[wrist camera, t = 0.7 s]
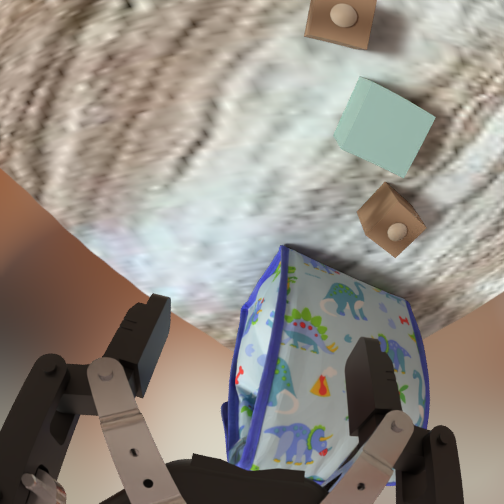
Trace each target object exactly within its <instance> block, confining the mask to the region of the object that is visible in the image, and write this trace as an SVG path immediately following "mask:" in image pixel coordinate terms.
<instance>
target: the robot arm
mask: <svg viewBox="0 0 504 504" xmlns="http://www.w3.org/2000/svg"><path fill="white" fill-rule="evenodd" d="M170 314H171V299H170V297H166V296H162V295H158V294H154V293H153V294H152V295H151V296H150V298H149V300H148V302H147V304H143V303H137V304H135V305H134V306H133V307H132V308H130V309H129V310H128V312H127V314H126V316H125V317H124V320H123V321H122V323H121V324H120V327H119V328H118V330H117V332H116V333H115V335H114V337H113V339H112V341H111V342H110V344H109V346H108V348H107V350H106V352H105V354H104V355H103V356H102V358H98V359H96V360H94V361H93V362H92V363H91V364H87V365H78V364H66V363H65V360H64V359H63V358H62V357H61V356H59V355H57V354H45V355H43V356H41V357H40V358H38V360H37V361H36V362H35V364H34V366H33V367H32V369H31V371H30V373H29V375H28V377H27V378H26V380H25V382H24V384H23V386H22V388H21V390H20V392H19V394H18V396H17V398H16V400H15V402H14V404H13V406H12V408H11V410H10V412H9V414H8V416H7V418H6V420H5V422H4V425H3V427H2V429H1V431H0V504H66V493H65V490H64V488H63V487H62V485H61V484H60V483H58V482H57V478H58V475H59V472H60V469H61V466H62V463H63V461H64V458H65V455H66V452H67V449H68V446H69V444H70V441H71V438H72V435H73V433H74V430H75V427H76V425H77V422H78V419H79V417H80V415H96V416H99V419H100V422H101V428H102V431H103V434H104V437H105V440H106V443H107V445H108V448H109V451H110V453H111V456H112V459H113V461H114V464H115V466H116V469H117V471H118V474H119V477H120V479H121V481H122V484H123V486H124V488H125V489H123V490H121V491H120V492H118V493H116V494H115V495H113V496H111V497H109V498H108V499H106V500H104V501H102V502H101V503H99V504H373V503H374V502H375V500H376V499H377V497H378V496H379V495H380V493H381V492H382V490H383V489H384V487H385V486H386V484H387V483H388V481H389V480H390V478H391V476H392V475H393V472H394V470H392V468H393V469H395V476H396V504H464V498H463V488H462V479H461V472H460V464H459V457H458V451H457V445H456V439H455V436H454V434H453V432H452V431H451V430H450V429H449V428H448V427H446V426H442V425H439V426H436V427H434V428H433V429H432V430H431V431H430V430H427V429H424V428H421V427H418V426H416V425H414V424H413V421H412V419H411V418H410V417H409V415H407V414H406V413H405V412H403V410H402V405H401V400H400V395H399V390H398V385H397V382H396V376H395V374H394V372H395V371H394V366H393V362H392V360H391V359H390V357H389V356H388V354H387V353H386V352H381V347H380V342H379V340H378V339H374V338H368V337H360V338H359V340H358V341H357V343H356V345H355V347H354V348H353V350H352V352H351V353H350V355H349V357H348V359H347V361H346V364H345V382H346V393H347V406H348V419H349V435H350V436H357V437H359V442H358V443H357V444H356V445H355V447H354V448H353V449H352V451H351V452H350V453H349V454H348V456H347V457H346V458H345V459H344V461H343V462H342V463H341V464H340V465H339V467H338V468H337V469H336V470H335V471H334V473H333V474H332V475H331V476H330V477H329V478H328V479H327V480H326V481H325V482H324V483H323V484H322V485H319V484H318V483H316V482H315V481H313V480H311V479H308V478H306V477H305V471H303V470H291V469H282V468H275V469H265V470H254V471H249V470H245V469H243V468H240V467H238V466H236V465H233V464H231V463H228V462H226V461H224V460H221V459H217V458H212V457H207V456H203V455H198V454H194V453H193V456H192V459H183V460H176V461H172V462H169V463H166V464H165V463H164V461H163V459H162V457H161V455H160V453H159V451H158V449H157V446H156V444H155V442H154V440H153V438H152V436H151V433H150V431H149V429H148V427H147V424H146V422H145V419H144V417H143V415H142V413H140V411H139V409H138V406H137V404H136V401H135V397H136V396H137V397H140V398H143V397H144V395H145V392H146V390H147V387H148V384H149V382H150V379H151V377H152V374H153V372H154V369H155V366H156V364H157V362H158V359H159V357H160V354H161V352H162V349H163V346H164V344H165V342H166V339H167V337H168V334H169V329H170Z"/></svg>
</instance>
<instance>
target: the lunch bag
mask: <svg viewBox="0 0 504 504" xmlns="http://www.w3.org/2000/svg"><path fill="white" fill-rule="evenodd" d="M360 337H368V338H374V339H378V340H379V342H380V347H381V352H386V353H387V354H388V356H389V357H390V359H391V360H392V362H393V366H394V371H395V372H394V374H395V376H396V382H397V385H398V390H399V395H400V400H401V405H402V410H403V412H405V413H406V414H407V415H409V417H410V418H411V419H412V421H413V424H414V425H416V426H418V427H421V428H424V429H427V424H428V417H429V404H430V395H429V394H430V393H429V376H428V369H427V363H426V356H425V350H424V345H423V341H422V337H421V334H420V330H419V328H418V325H417V322H416V320H415V317H414V315H413V312H412V309H411V306H410V303H409V302H408V301H406V300H404V299H403V298H400V297H398V296H395V295H393V294H390V293H387V292H385V291H383V290H381V289H378V288H376V287H373V286H371V285H368V284H366V283H364V282H361V281H359V280H356V279H354V278H352V277H350V276H348V275H346V274H344V273H341V272H339V271H337V270H335V269H333V268H331V267H328V266H326V265H324V264H322V263H320V262H318V261H315V260H313V259H311V258H309V257H307V256H305V255H303V254H300V253H298V252H296V251H295V250H292V249H289V248H287V247H286V246H283V245H280V248H279V251H278V253H277V254H276V256H275V257H274V259H273V261H272V262H271V264H270V266H269V267H268V269H267V270H266V271H265V273H264V275H263V276H262V277H261V278H260V280H259V281H258V283H257V285H256V286H255V288H254V290H253V292H252V294H251V295H250V297H249V300H248V301H247V302H246V303H245V304H244V305H243V306H242V308H241V314H240V323H239V328H238V333H237V339H236V345H235V350H234V355H233V359H232V365H231V372H230V380H229V397H228V402H225V403H223V404H222V406H221V416H222V421H223V425H224V430H225V438H226V452H227V461H228V463H231V464H233V465H236V466H238V467H240V468H243V469H245V470H249V471H254V470H265V469H275V468H282V469H291V470H303V471H305V477H306V478H308V479H311V480H313V481H315V482H316V483H318V484H319V485H322V484H323V483H324V482H325V481H326V480H327V479H328V478H329V477H330V476H331V475H332V474H333V473H334V471H335V470H336V469H337V468H338V467H339V465H340V464H341V463H342V462H343V461H344V459H345V458H346V457H347V456H348V454H349V453H350V452H351V451H352V449H353V448H354V447H355V445H356V444H357V443H358V442H359V437H357V436H350V435H349V419H348V406H347V393H346V382H345V364H346V361H347V359H348V357H349V355H350V353H351V352H352V350H353V348H354V347H355V345H356V343H357V341H358V340H359V338H360ZM392 470H394V472H393V475H392V476H391V478H390V480H389V481H388V483H387V484H386V486H395V485H396V476H395V469H393V468H392Z"/></svg>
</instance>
